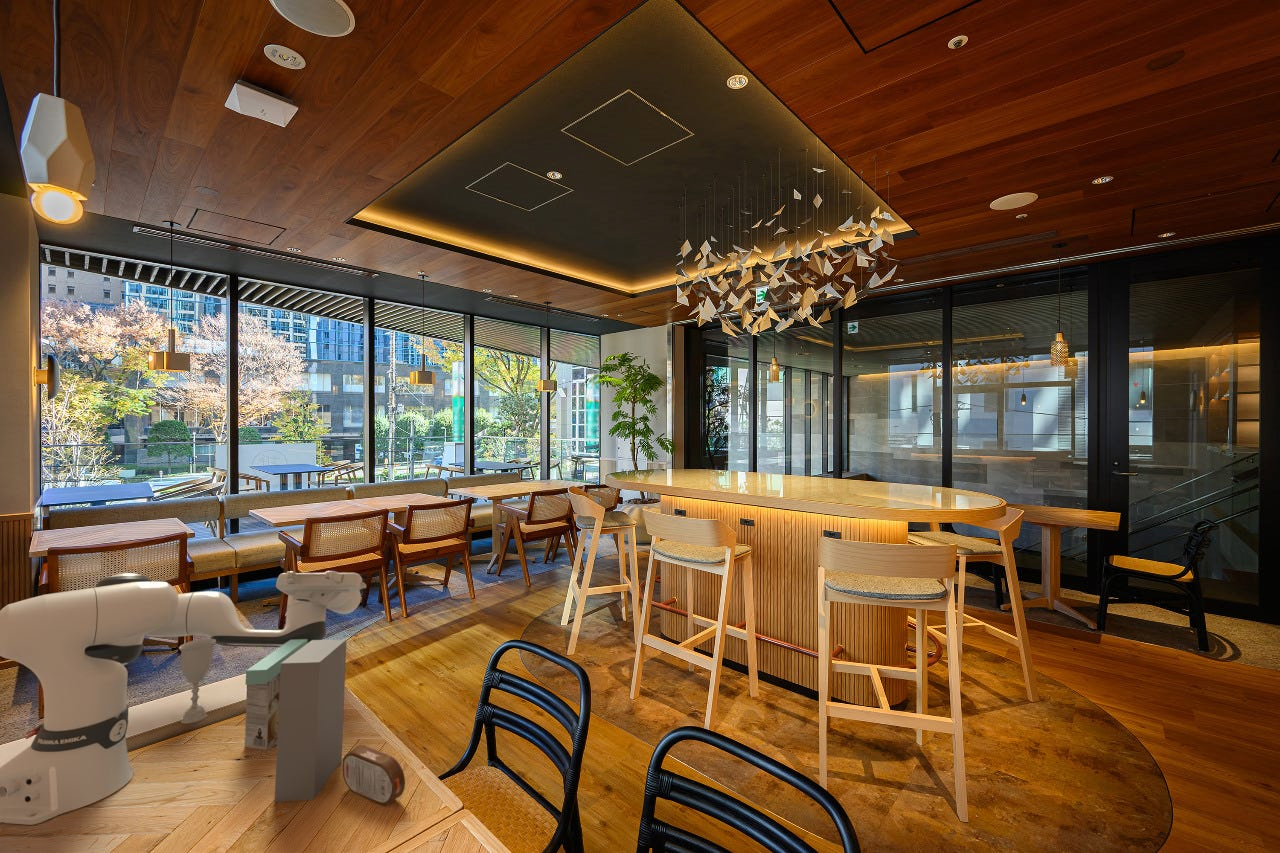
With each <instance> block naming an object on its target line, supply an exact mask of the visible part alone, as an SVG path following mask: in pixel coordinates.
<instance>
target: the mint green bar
mask: <svg viewBox="0 0 1280 853" xmlns="http://www.w3.org/2000/svg"><path fill="white" fill-rule="evenodd" d="M307 643H308V639H297V640H289V641H288V642H286V643H285V644H284V645H282V646H281V647H277V648H276V649H275V650H273V651H272V652H271V653H269V654H267V655H266V656H265V657H264V658H262V659H260V661H258V662H256V663H255V664H253V665H252V666H251V667H249V668H248V669H246V670H245V685H246V686H247V685H249V684H266V683H267V682H269V681H270V680H271V679H272V678H274V677H275V676H276V675H278V674H279V673H280V668H281V663H282V662H283V661H285V660H286V659H287V658H289V657H290V656H291V655H293V654H294V653H295V652H297V651H298V650H299V649H301V648H302V647H304V646H305V645H306V644H307Z"/></svg>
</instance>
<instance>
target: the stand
mask: <svg viewBox="0 0 1280 853" xmlns="http://www.w3.org/2000/svg"><path fill="white" fill-rule="evenodd" d="M346 658H347V639H346V638H345V639H322V640H312V641H310V642H309V643H308V644H306V645H305V646H304V647H302V648H301V649H299V650H298V651H297V652H295V653H294V654H293V655H291V656H290V657H289V658H287V659H286V660H285V661H283V662H282V663H281V668H280V690H279V712H278V734H277V744H276V757H275V758H276V762H275V780H274V781H275V784H274V800H273V801H274V803H278V802H279V803H281V802H283V803H284V802H297V801H311V800H312V801H313V800H315V798H316V797H317V796H318V795H319V793H320V791H322V789H323V788H324V787H325V785H326V783H328V781H329V780H330V778H331V777H332V776H333V775H334V773H335V772H336V770H337V769H336V768H339V766H340V765H341V763H343V759H342V758H343V735H344V732H343V731H344V710H345V690H346V689H345V687H346V665H347V664H346V661H347V659H346ZM339 764H340V765H339ZM334 771H335V772H334ZM333 772H334V773H333ZM331 775H332V776H331Z"/></svg>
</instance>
